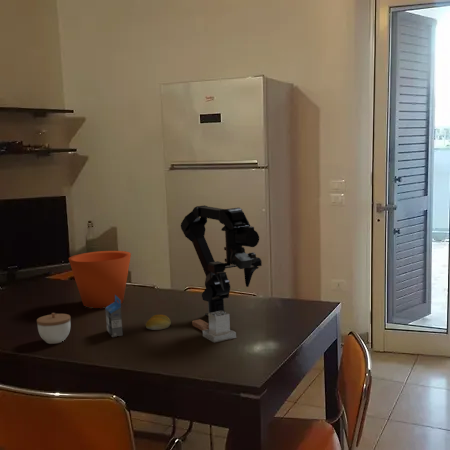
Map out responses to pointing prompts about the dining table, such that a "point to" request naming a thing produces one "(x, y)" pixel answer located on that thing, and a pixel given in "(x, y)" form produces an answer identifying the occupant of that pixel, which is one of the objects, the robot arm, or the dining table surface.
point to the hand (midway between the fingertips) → (235, 288)
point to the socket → (219, 322)
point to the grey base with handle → (211, 336)
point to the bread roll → (158, 322)
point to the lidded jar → (54, 327)
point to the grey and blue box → (114, 318)
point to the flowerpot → (101, 276)
